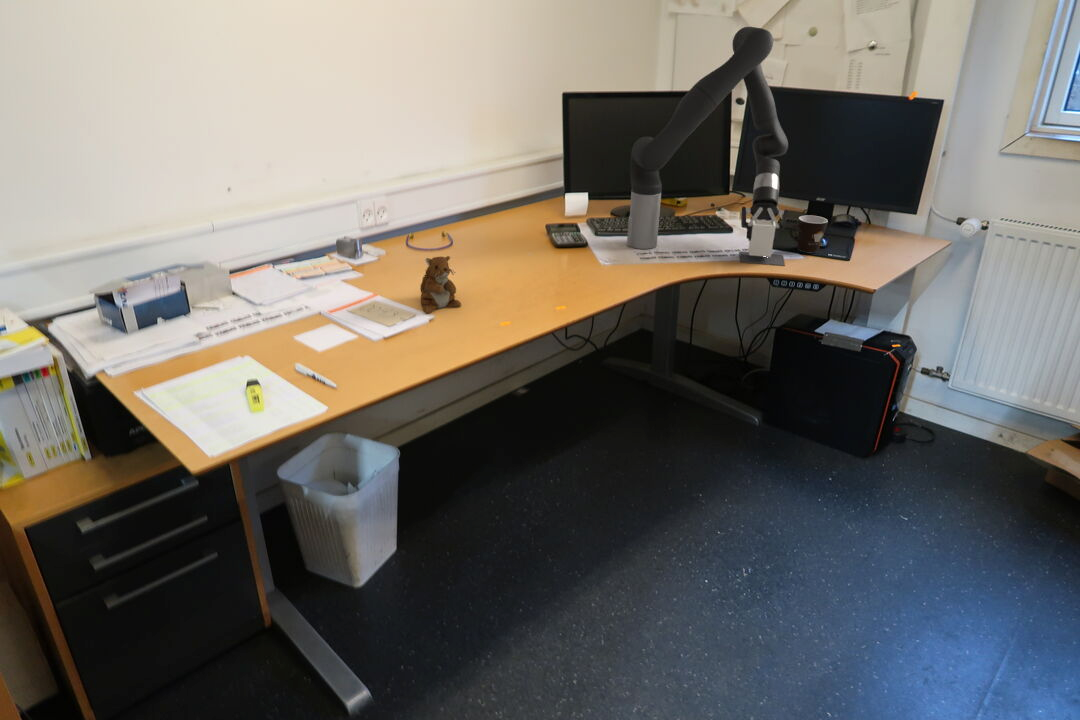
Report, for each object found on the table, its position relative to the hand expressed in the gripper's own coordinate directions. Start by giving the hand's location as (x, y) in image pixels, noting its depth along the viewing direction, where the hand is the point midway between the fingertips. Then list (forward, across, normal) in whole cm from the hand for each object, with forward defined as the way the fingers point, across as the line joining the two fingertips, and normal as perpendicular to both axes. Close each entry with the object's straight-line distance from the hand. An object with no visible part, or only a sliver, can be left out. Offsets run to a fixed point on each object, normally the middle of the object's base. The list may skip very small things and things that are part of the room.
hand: (761, 240), depth 223 cm
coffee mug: (-5, +14, +14) cm, 21 cm away
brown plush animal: (+44, -83, -35) cm, 100 cm away
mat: (+3, +1, +6) cm, 7 cm away
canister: (+2, 0, +4) cm, 5 cm away
